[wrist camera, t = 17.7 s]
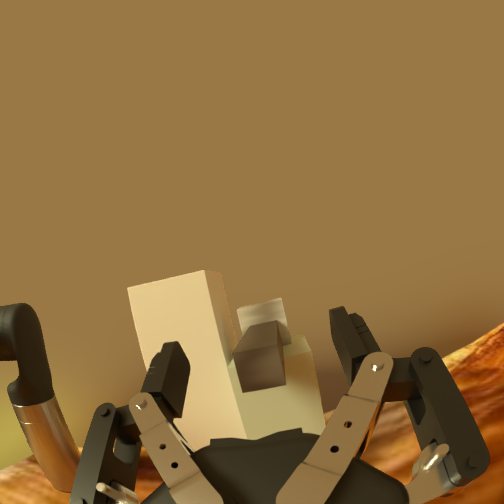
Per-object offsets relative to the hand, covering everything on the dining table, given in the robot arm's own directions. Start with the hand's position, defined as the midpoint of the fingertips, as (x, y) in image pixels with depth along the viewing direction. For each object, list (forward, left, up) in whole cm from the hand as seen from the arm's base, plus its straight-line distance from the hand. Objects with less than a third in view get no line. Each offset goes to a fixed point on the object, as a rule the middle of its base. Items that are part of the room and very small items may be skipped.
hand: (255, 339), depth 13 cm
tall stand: (-11, +19, -26) cm, 34 cm away
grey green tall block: (-1, +15, -26) cm, 30 cm away
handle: (-1, +12, -4) cm, 13 cm away
